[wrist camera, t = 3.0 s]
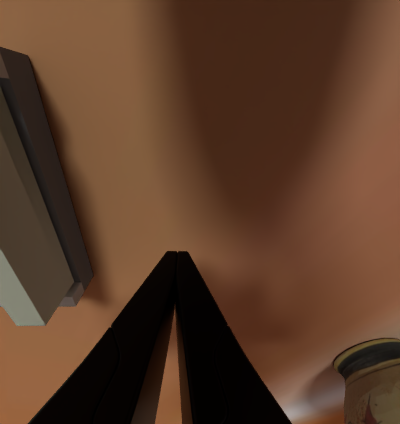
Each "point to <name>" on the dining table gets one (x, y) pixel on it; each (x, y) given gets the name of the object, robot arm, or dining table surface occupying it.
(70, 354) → the dining table surface
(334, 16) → the dining table surface
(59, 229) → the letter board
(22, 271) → the sage shutter
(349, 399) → the amphora
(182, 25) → the dining table surface
